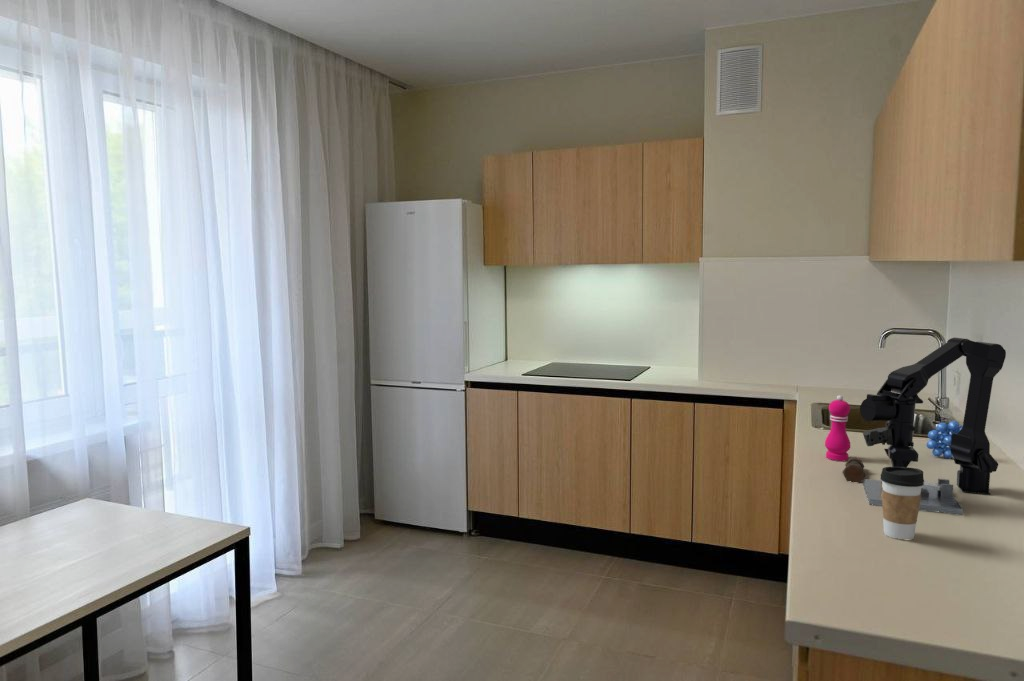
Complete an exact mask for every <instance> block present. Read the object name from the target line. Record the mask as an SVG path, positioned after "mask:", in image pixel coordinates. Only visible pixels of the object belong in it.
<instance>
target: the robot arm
mask: <svg viewBox="0 0 1024 681" xmlns="http://www.w3.org/2000/svg"><path fill="white" fill-rule="evenodd" d="M1006 356H1007V352H1006V349H1005V348H1004V347H1003V345H1001V344H999V343H994V342H986V341H974V340H971V339H968V338H962V337H952V338H949V339H948V340H947V341H946V343H944V344H942V345H941V346H939V347H937V349H935V350H933V351H931V352H930V353H929V354H927V355H926V356H925V357H923V358H921V359H920V360H919V361H917V362H916V363H913V364H911V365H905V366H902V367H900V368H897V369H895V370H893V371H891V372H890V373H889V374H888V375H887V379H886V380H885V382H884V383H883V384H882V386H881V387H880V388H879V390H878V391H877V392H876V394H873V393H870V394H869V393H867V394H866V398H865V399H863V400H862V402H861V404H860V405H859V412H860V415H861V417H862V419H863V420H864V421H866V422H881V421H882V422H885V426H883V427H877V428H873V429H868V430H864V431H862V435H863V438H864V442H865V444H866V446H867V447H873V446H874V445H879V444H880V445H881V444H882V445H883V446H885V445H887V448H884V450H883V451H884V452H885V454H886V456H887V457H888V458H889V459H890V462H891V467H908V466H909V465H910V463H911V462H913V463H915V462H917V463H918V462H919V452H918V451H917V450H916V449H915V448H914V447H915V446H914V444H915V443H914V441H913V439H914V431H916V426H915V415H916V405H917V404H923V403H924V400H923V399H922V398H920V397H919V395H918V394H919V393H920V392H921V391H922V390H923V389H924V388H926V387H927V385H928V382H929V380H930V379H931V378H932V377H934V376H935V375H936V374H938V373H939V372H941V371H942V370H944V369H945V368H947V367H948V366H950V365H951V364H953V363H955V362H956V361H957V360H959V359H961V357H965V364H966V367H967V369H968V371H969V373H970V378H969V385H968V391H967V398H966V403H965V408H964V409H965V410H964V416H963V422H962V426H963V427H962V429H961V430H960V431H959V432H958V433H957V434H955V433H953V434H952V435H951V444H950V446H949V448H951V454H952V455H953V457H952V458H953V461H954V465H959V469H958V470H957V473H956V486H957V487H958V488H959V490H960V491H961V492H963V493H971V494H979V495H989V496H990V495H991V494H992V492H991V491H990V482H991V480H990V479H991V474H992V473H995V472H997V469H998V467H999V463H998V462H997V460H996V459H995V458H994V457H993V456H992V455H991V453H990V452H991V451H990V449H991V448H990V447H991V446H990V445H991V444H990V440H989V438H988V437H987V434H986V424H987V419H988V414H989V413H988V412H989V408H990V407H989V406H990V401H991V395H992V388H993V381H994V378H996V377H995V376H997V374H998V373H1000V371H1002V369H1003V366H1004V363H1005V360H1006ZM886 421H887V422H886Z"/></svg>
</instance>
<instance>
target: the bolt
mask: <svg viewBox="0 0 1024 681" xmlns="http://www.w3.org/2000/svg"><path fill="white" fill-rule="evenodd" d="M844 466H845V468H844V469H843V470H842V475H843V476H844V478H845V480H846V482H848V481H851V482H850V483H854V482H860V483H861V482H863V479H865V477H866V472H865V470H864V469H865V464H864V462H863V461H862V460H861V458H858V457H849V458H848V460H847V462H846V463H845V465H844Z"/></svg>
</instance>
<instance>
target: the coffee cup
mask: <svg viewBox="0 0 1024 681" xmlns="http://www.w3.org/2000/svg"><path fill="white" fill-rule="evenodd" d="M879 479H880V481H882V483H883V487H882V505H883V506H882V519H883V521H882V522H883V534H884V535H885V536H886V535H887V536H886V537H888V536H889V538H891V537H892V538H891V539H894V538H898V539H897V540H899V539H911V540H913V539H914V538H915V535H916V534H915V533H916V526H917V522H918V516H919V511H920V510H919V506H920V500H921V487H922V486H923V485H924V481H925V478H924V471H923V470H922V469H920V468H915V467H908V466H907V467H892V466H886V467H882V469H881V473H880V478H879Z"/></svg>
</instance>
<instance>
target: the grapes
mask: <svg viewBox="0 0 1024 681" xmlns="http://www.w3.org/2000/svg"><path fill="white" fill-rule="evenodd" d="M962 427H963V425H960V423H959V421H957V420H952V421H950V422H949V423H948V424H947V423H946V422H939V423H938V424H937V425H936V427H935V428H936V429H932V430H929V432H928V433H927V437H928V439H929V440H927V442H926V443H925V444H926V448H927V449H929V450H932V455H933V457H936V458H937V457H941V456H943V457H944V458H945V459H951V458H953V455H952V454H951V448H949V446H950V444H951V435H952V434H953V433H955V434H957V433H958V432H959V431H960V430H961V429H962Z"/></svg>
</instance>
